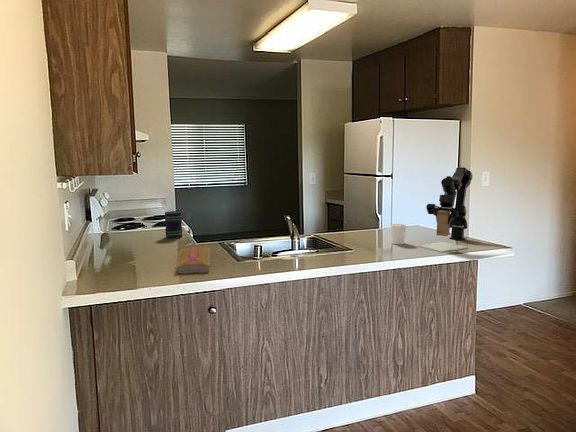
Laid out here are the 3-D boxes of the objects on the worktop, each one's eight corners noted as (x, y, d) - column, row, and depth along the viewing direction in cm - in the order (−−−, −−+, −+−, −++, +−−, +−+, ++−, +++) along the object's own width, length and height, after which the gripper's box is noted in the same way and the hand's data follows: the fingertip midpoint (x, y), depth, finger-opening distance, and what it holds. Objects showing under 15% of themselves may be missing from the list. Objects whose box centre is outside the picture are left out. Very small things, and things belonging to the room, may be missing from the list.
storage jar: (162, 237, 275) (160, 212, 273) (174, 235, 283) (173, 210, 281) (174, 239, 270) (173, 213, 268) (186, 236, 278) (185, 211, 276)
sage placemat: (443, 242, 249) (443, 241, 249) (467, 248, 235) (467, 247, 235) (418, 246, 241) (418, 245, 241) (441, 252, 227) (441, 251, 227)
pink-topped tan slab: (180, 256, 227) (179, 244, 226) (210, 255, 229) (209, 242, 228) (175, 275, 193) (174, 260, 192) (210, 273, 195) (210, 259, 194)
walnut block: (439, 233, 236) (439, 210, 234) (449, 234, 233) (450, 210, 232) (436, 235, 232) (437, 211, 230) (446, 236, 229) (447, 212, 228)
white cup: (404, 241, 253) (404, 223, 252) (406, 244, 246) (406, 226, 244) (389, 241, 254) (389, 223, 253) (391, 244, 246) (391, 226, 245)
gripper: (427, 187, 238) (420, 212, 230) (466, 189, 228) (459, 214, 220) (431, 201, 245) (424, 225, 238) (468, 203, 235) (463, 228, 228)
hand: (442, 223), depth 231 cm, fingers closed on walnut block, 5 cm apart
